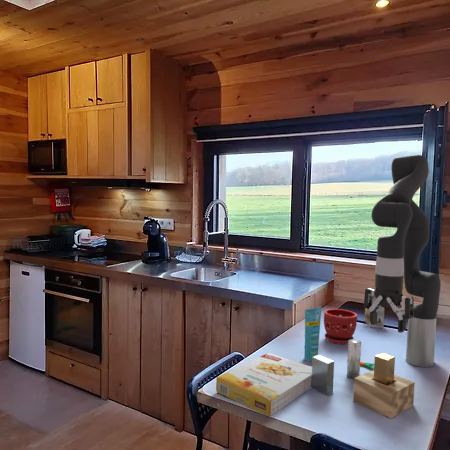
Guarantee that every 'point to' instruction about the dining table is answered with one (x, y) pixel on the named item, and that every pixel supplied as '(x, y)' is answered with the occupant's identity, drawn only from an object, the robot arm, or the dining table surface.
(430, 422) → the dining table surface
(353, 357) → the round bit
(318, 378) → the brushed grey-blue block
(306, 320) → the tube
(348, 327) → the plant pot
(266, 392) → the cereal box
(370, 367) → the magnifying glass
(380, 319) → the coffee box
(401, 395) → the socket block
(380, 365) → the square bit
